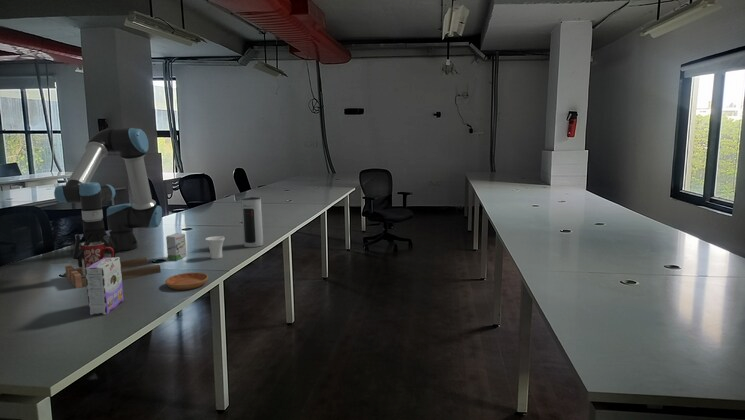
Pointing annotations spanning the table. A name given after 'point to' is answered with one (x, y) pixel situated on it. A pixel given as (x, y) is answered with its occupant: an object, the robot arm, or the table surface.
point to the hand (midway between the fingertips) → (98, 271)
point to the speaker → (252, 222)
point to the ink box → (176, 246)
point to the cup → (215, 246)
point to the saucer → (186, 281)
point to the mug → (94, 253)
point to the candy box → (104, 285)
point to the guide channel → (78, 282)
